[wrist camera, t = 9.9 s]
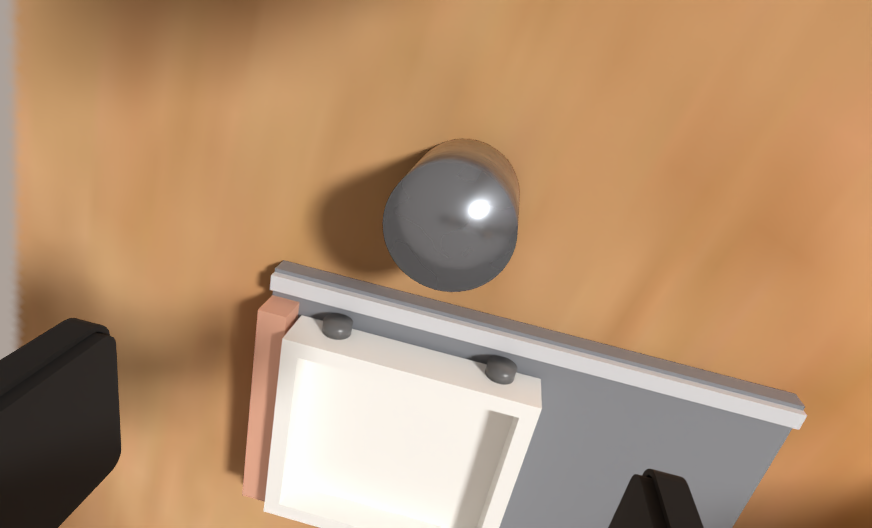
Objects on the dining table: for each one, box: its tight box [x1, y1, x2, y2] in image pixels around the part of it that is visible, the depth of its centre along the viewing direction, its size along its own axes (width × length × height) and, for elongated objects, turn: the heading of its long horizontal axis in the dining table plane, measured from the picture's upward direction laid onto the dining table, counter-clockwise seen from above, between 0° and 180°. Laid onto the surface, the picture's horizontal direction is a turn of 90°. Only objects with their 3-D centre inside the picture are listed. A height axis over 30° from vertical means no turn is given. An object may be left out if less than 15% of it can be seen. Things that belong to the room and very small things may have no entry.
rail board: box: [242, 260, 807, 528], centre depth 28 cm, size 25×15×3 cm, turn 78°
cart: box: [264, 313, 542, 528], centre depth 28 cm, size 12×12×2 cm
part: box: [383, 139, 520, 292], centre depth 22 cm, size 5×5×5 cm
